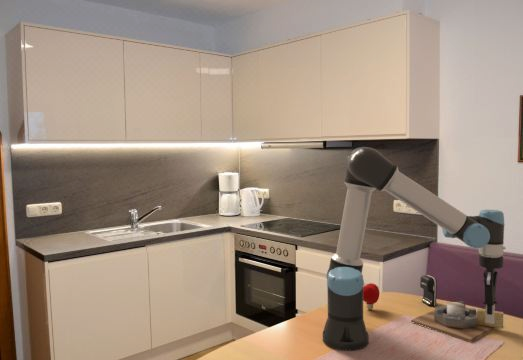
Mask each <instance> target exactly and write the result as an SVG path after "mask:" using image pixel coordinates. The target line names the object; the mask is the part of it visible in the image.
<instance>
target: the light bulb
mask: <svg viewBox="0 0 523 360" xmlns="http://www.w3.org/2000/svg"><path fill="white" fill-rule="evenodd" d="M379 298H380V289H379V287H378V286H377V285H376V284H375V283H367V284H366V285H364V286H363V302H365V304H366V305H365V306H366V309H367V310H369V311H372V310H373V309H374V304H376V303H377V302H378V301H379Z"/></svg>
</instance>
